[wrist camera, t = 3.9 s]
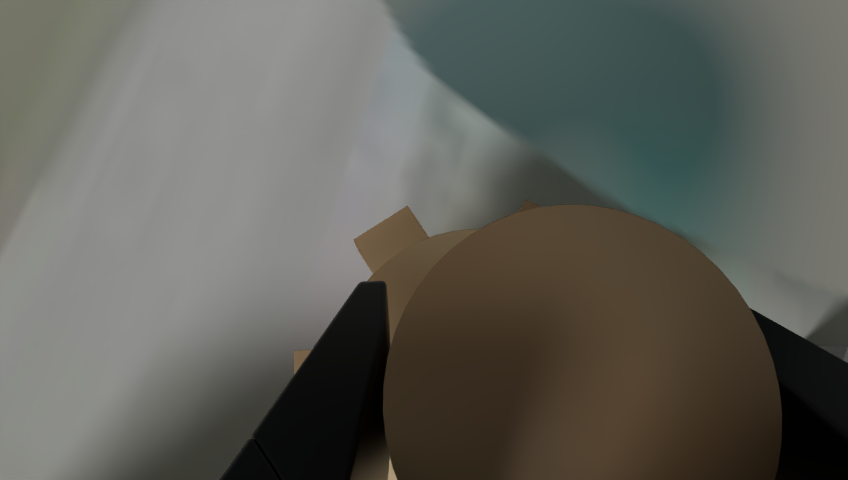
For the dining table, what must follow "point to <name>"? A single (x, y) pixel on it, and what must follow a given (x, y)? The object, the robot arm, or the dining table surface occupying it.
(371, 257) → the gear
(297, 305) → the dining table surface
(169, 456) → the dining table surface
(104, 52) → the dining table surface
